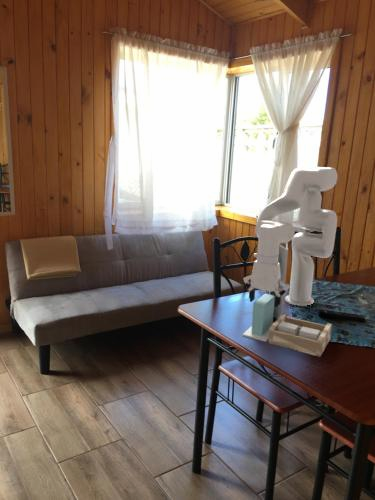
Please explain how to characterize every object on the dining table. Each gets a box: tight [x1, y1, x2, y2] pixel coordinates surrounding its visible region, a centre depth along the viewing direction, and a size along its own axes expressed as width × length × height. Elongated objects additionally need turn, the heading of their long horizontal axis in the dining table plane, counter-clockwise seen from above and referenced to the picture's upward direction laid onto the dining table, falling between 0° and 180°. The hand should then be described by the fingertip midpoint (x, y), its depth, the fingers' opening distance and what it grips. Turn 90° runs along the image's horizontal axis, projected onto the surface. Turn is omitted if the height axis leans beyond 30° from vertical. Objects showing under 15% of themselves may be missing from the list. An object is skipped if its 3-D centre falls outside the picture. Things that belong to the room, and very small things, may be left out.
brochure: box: [268, 242, 289, 320], centre depth 166 cm, size 14×6×30 cm, turn 168°
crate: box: [267, 312, 333, 358], centre depth 148 cm, size 16×18×6 cm
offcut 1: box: [278, 322, 298, 336], centre depth 147 cm, size 4×6×6 cm, turn 60°
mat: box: [242, 322, 274, 343], centre depth 156 cm, size 16×9×1 cm, turn 150°
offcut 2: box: [299, 326, 320, 340], centre depth 143 cm, size 4×6×6 cm, turn 60°
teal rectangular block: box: [251, 293, 275, 336], centre depth 155 cm, size 4×12×12 cm, turn 151°
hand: (264, 303), depth 154 cm, fingers open, 9 cm apart
